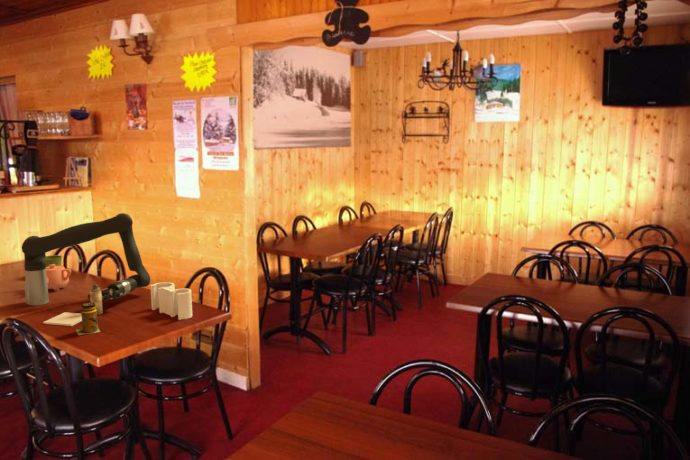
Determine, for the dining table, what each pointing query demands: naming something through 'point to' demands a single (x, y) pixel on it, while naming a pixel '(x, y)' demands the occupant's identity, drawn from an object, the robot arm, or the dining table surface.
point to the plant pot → (53, 260)
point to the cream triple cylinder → (171, 300)
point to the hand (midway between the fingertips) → (96, 297)
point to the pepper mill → (96, 298)
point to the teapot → (57, 277)
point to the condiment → (88, 319)
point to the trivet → (65, 319)
